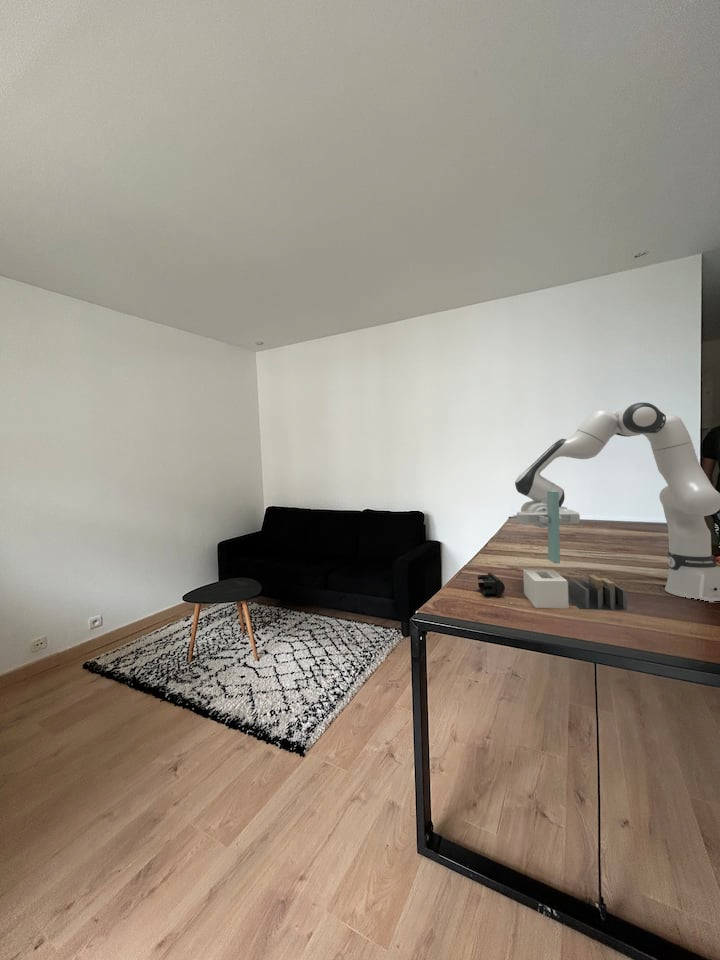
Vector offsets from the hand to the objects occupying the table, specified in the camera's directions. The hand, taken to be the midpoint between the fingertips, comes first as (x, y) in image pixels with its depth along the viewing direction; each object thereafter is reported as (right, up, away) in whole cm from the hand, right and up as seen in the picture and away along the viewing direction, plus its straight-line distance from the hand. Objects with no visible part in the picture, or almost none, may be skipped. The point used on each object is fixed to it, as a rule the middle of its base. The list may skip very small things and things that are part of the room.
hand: (554, 520), depth 123 cm
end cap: (-16, -30, +15) cm, 37 cm away
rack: (+14, -28, -1) cm, 31 cm away
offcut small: (+17, -27, -2) cm, 32 cm away
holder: (-2, -29, +2) cm, 29 cm away
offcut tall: (+14, -27, -1) cm, 30 cm away
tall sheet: (+1, -14, +1) cm, 14 cm away
